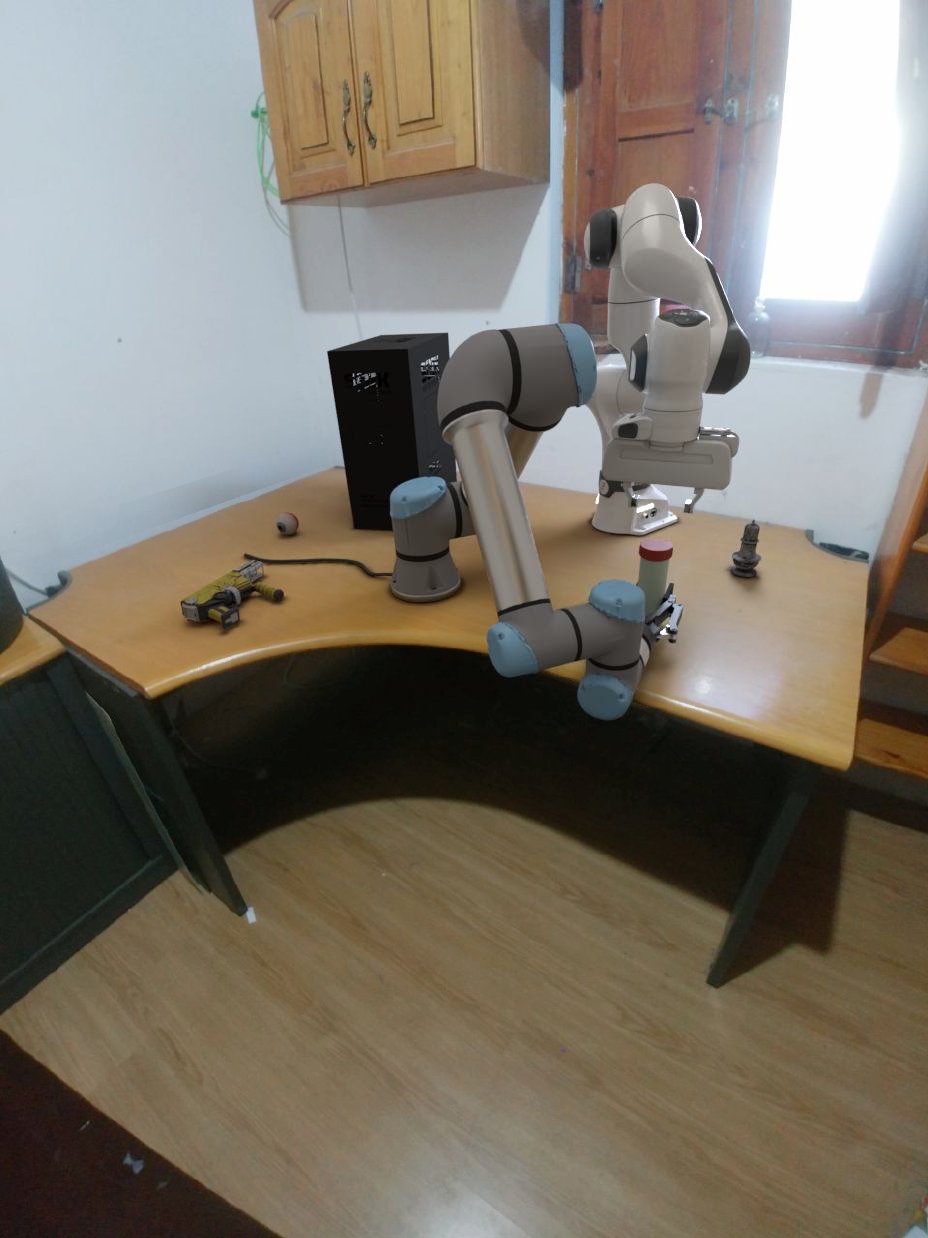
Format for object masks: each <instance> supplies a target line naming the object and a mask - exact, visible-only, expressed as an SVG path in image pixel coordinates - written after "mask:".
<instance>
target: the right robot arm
mask: <svg viewBox="0 0 928 1238" xmlns="http://www.w3.org/2000/svg"><path fill="white" fill-rule="evenodd" d="M701 231H702V216H701V212H700V206H699V204H698V202H697V201H696V200H695V198H693V197H688V196H676V197H675V196H674V194H673V192H672V191H671V190H670V188H669V187H667V186H666V185H664V184H661V183H655V182H654V183H647V184H644V185H641V186H639V187H638V188H637V189H634V191H633V192H632V193H630V195H629V196H628V198H627V200H626V201H625V204H621V205H617V206H614V207H609V206H606V207H603V208H601V209H598V210H597V211H595V212H593V214H592V215H591V216H590V217H589V219H588V223H587V224H586V228H585V231H584V236H583V248H584V253H585V255H586V258H587V261H588V264H589V265H590V266H591V267H592V268H593V269H596V270H602V271H603V270H605V271H607V270H609V269H610V273H609V280H608V291H607V326H606V327H607V330H606V331H607V332H606V333H607V334H606V335H607V340H608V342H609V344H610V345H611V346H612V347H613V348H614V349H616V350H617V351H618V352H619V353H620V354H621V356H622V357H623V360H624V362H625V364H613V363H607V364H602V365H597V383H596V389H595V392H594V395H593V397H592V399H591V400H590V402H589V403H587V404H585V405H584V406H585V407H587V408H588V409H589V410H590V411H589V412H591V413H592V415H593V417H594V419H595V421H596V424H597V426H598V428H599V432H600V436H601V437H600V438H601V468H600V470H599V474H598V492H599V493H598V495H597V497H596V500H595V504H596V507H595V511H594V514H593V517H592V520H591V525H592V526H593V527H594V528H595V529H597V530H599V531H601V532H605V533H611V534H623V535H625V534H626V535H632V536H633V535H634V536H645V535H646V534H650V533H652V532H654V531H657V530H660V529H662V528H665V527H668V526H670V525H672V524H675V523H677V522H678V516H677V515H676V514H675V513H674V512H672V511H670V503H669V502H670V501H669V498H668V497H667V496H666V495H665V494H664V493H663V492H661V491H660V490H659V489H658V488H656V487H655V486H654V485H658V486H670V487H682V488H690V489H691V488H693V495H694V496H693V498H692V499H686V501H685V502H684V509H683V514H692V515H694V512H695V510H696V504H697V502H698V501H699V500H700V499H701V498H702V497H703V495H704V494H705V490H716V491H724V490H725V489H726V488H728V486H730V484H731V481H732V475H733V474H732V473H733V459H734V457H735V456H736V455H737V453H739V452H738V451H739V446H740V437H739V435H738V434H737V433H736V432H735V431H732V430H731V428H727V427H721V428H716V427H712V426H711V427H709V426H701V423H702V416H703V408H704V399H703V394H705V395H726V394H728V393H729V392H731V391H732V390H734V388H736V387H737V386H739V384H740V383H741V382H742V381H743V380H744V379H745V378H746V376H747V375H748V373H749V370H750V364H751V357H752V356H751V352H752V351H751V345H750V341H749V338H748V337H747V335H746V333H745V332H744V330H743V329H742V328H741V326H740V325H739V323H738V321H737V320H736V317H735V315H734V312H733V309H732V307H731V305H730V302H729V299H728V297H727V294H726V292H725V290H724V287H723V284H722V282H721V279H720V277H719V274H718V273H717V271H716V268H715V266H714V264H713V262H712V261H711V260H710V258H708V257H707V256H706V255H704V254H702V253H701V252H700V251H698V250H697V249H696V246H697V243H698V240H699V238H700V235H701ZM661 299H663V300H668V301H671V302H676V303H679V304H682V305H685V306H687V307H688V308H673V309H669V310H666V311H663V312H661V313H660V305H661V304H660V303H661Z"/></svg>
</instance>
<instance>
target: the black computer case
mask: <svg viewBox="0 0 928 1238" xmlns="http://www.w3.org/2000/svg"><path fill="white" fill-rule="evenodd" d="M326 354H327V360H328V369H329V373H330V380H331V387H332V393H333V400H334V406H335V415H336V420H337V426H338V427H337V428H338V433H339V439H340V440H339V441H340V448H341V454H342V460H343V466H344V472H345V478H346V486H347V493H348V500H349V506H350V511H351V520H352V525H353V529H360V530H361V529H362V530H363V529H364V530H366V529H367V530H389V531H393V526H392V518H391V516H390V496H391V493H392V491H393V490H394V489H395V488H396V487H397V486H399V485H400V484H402V483H404V482H407V481H409V480H412V479H416V478H421V477H427V478H428V477H439V478H442V479H443V480H444V481H445V483H446V484H447V483H452V482H458V478H457V477H458V475H457V461H456V458H455V454H454V450H453V446H452V445H450V444H448V443H446V442H445V441H444V439H443V436H442V432H441V429H440V425H439V420H438V411H437V398H438V390H439V385H440V381H441V377H442V374H443V371H444V369H445V366H446V364H447V362H448V361H449V359H450V357H451V356H450V355H451V354H450V341H449V332H427V333H400V334H399V333H397V334H395V333H394V334H379V335H377V336H373V337H370V338H367V339H363V340H359V341H356V342H353V343H350V344H347V345H342V346H340V347H336V348H333V349H330V350H327V351H326ZM429 361H430V362H429ZM436 363H437V364H436Z"/></svg>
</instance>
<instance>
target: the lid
mask: <svg viewBox="0 0 928 1238" xmlns="http://www.w3.org/2000/svg"><path fill="white" fill-rule="evenodd" d="M673 547H674V544H673V543H672V542H671V541H670V540H666V539H663V538H647V539H643V540H641V541H640V543H639V547H638V555H639V557H640V558H641V557H642V558H643V559H646V560H650V561H665V560H668V559H669V560H671V558H672V556H673V551H674V548H673Z"/></svg>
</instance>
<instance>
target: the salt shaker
mask: <svg viewBox="0 0 928 1238" xmlns="http://www.w3.org/2000/svg"><path fill="white" fill-rule="evenodd" d="M760 530H761V527H760V525H759V524H757V523H756V519H752V520H751V522H749V523H746V525H744V529H743V534H742V537H741V538H740V541H741V543H740V548H739V550H737V551H734V552H732V553H731V557H732V563H733V565H734V566H732V567H731V568H730V572H731V573H732V574H734V575H735V576H738V577H743V578H750V577H754V576H756V575H757V574H758V571H757V569H755V568H756V567H758V565H759V563H760V561H761V560H762V555H760V554H758V553H757V547H758V543H760V540H759V535H760Z"/></svg>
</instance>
